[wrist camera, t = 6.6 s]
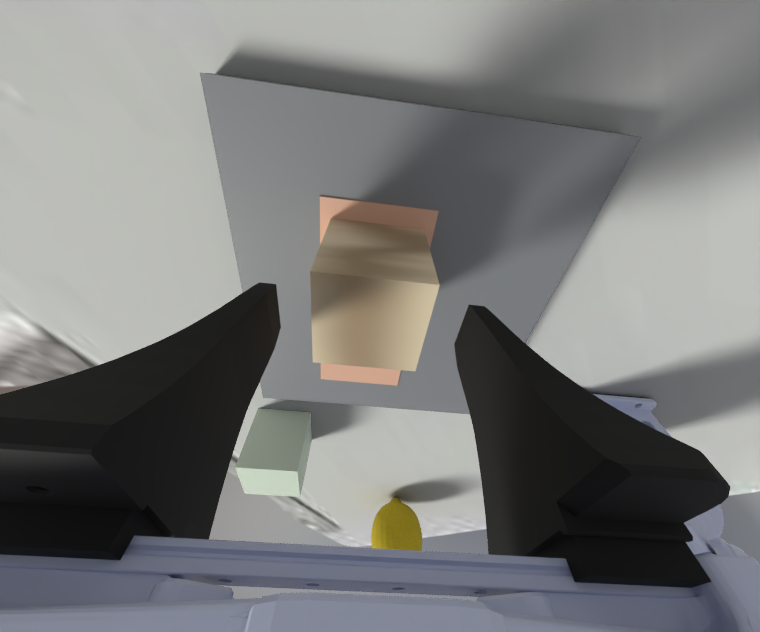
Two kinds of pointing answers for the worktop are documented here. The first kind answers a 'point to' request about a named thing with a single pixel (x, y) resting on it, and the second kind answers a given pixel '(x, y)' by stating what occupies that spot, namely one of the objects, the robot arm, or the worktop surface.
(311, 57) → the worktop surface
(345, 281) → the maple block
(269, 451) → the sage block
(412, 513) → the lemon
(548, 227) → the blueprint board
